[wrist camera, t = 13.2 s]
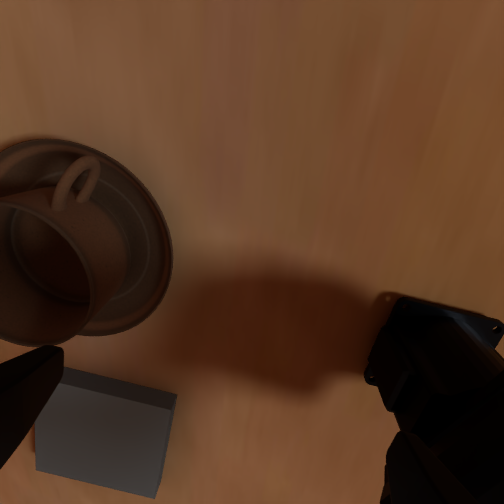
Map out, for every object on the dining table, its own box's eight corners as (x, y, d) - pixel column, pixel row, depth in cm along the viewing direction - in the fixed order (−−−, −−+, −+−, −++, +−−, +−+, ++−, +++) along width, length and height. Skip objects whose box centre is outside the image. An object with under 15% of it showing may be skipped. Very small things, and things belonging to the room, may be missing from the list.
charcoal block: (179, 389, 25) (171, 410, 23) (162, 474, 29) (154, 498, 27) (51, 357, 25) (33, 376, 23) (51, 447, 29) (35, 470, 27)
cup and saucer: (-14, 117, 19) (-145, 113, 13) (193, 162, 19) (154, 179, 13) (3, 299, 23) (-89, 356, 17) (170, 336, 23) (133, 406, 17)
